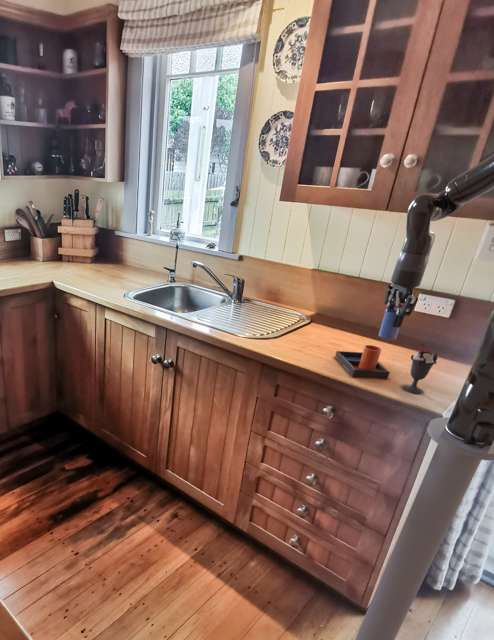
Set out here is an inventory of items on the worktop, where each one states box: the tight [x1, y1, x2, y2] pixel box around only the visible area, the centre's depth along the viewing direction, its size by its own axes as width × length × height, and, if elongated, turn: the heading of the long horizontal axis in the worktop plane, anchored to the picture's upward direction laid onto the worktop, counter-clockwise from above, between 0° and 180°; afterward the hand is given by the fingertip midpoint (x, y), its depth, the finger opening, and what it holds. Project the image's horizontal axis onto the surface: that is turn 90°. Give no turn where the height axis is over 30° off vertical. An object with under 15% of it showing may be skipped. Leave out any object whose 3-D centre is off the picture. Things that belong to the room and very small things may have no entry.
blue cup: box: [378, 309, 401, 340], centre depth 141 cm, size 5×5×8 cm
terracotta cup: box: [358, 344, 382, 370], centre depth 148 cm, size 5×5×8 cm
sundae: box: [403, 343, 438, 394], centre depth 138 cm, size 7×7×15 cm
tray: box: [334, 350, 391, 380], centre depth 153 cm, size 15×11×3 cm
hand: (391, 323), depth 141 cm, fingers closed on blue cup, 5 cm apart
